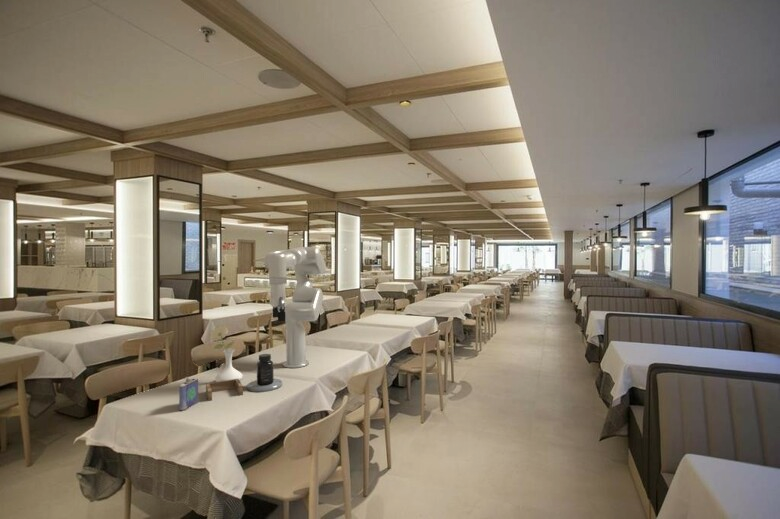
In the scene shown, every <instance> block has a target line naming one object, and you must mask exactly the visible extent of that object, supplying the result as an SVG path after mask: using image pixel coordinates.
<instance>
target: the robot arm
mask: <svg viewBox="0 0 780 519" xmlns="http://www.w3.org/2000/svg"><path fill="white" fill-rule="evenodd" d="M322 254H323V253H322V252H321V250H320V249H319V248H318V247H316V246H299V247H294V248H289V249H283V250H275V251H270V252H268V253H267V254H266V255H265V257H264V265H265V266H266V268H268V280H269V281H268V284H269V286H270V291H269V292H270V298H269V299H270V300H269V302H270V303H269V305H270V306H272V318H277V321H278V322H285V333H286V334H285V336H286V338H285V340H286V343H285V344H286V356H285V357H286V361H284V362H283V367H284V368H289V369H296V368H303V367H307V366H308V365H309V364H310V361H309V360H308V359H307V358H306V357H307V354H306V352H307V350H306V349H307V348H306V327H305V326H304V324H303V322H315V321H317V320H318V318H319V315H320V312H321V309H322V306H323V302H324V301H323V300H324V294H323V291H322V289H321V288H319V287H313V282H312V281H311V279H310V278H309V277H308V276H310V275H311V276H316V275H317V276H320V275H323V274H325V273H326V270H327V269H326V268H327V266H326V262H325V259H324V257H323V255H322ZM292 268H294V276H295V279H296V285H295V287H294V291H293V293H292V296H291V302H289V303H286V302H287V301H286V300H287V297H286V286H285V285H287V284H288V283H287V282H288V280H287V269H289V270H290V269H292Z"/></svg>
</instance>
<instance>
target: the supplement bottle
mask: <svg viewBox="0 0 780 519" xmlns="http://www.w3.org/2000/svg"><path fill="white" fill-rule="evenodd" d="M271 359H272V355H271V354H270V353H263V354H259V355H258V361H257V363H256V380H257V384H258V385H261V386H265V385H270V384H272V383H273V381H274V379H275V377H274V362H273V360H271Z"/></svg>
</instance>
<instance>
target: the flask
mask: <svg viewBox="0 0 780 519" xmlns="http://www.w3.org/2000/svg"><path fill="white" fill-rule="evenodd" d="M184 379H185V381H184V382H183V383H181V384H180V385H179V386H178V387H179V388H178V389H179V390H178V391H179V396H178V397H179V399H178V401H179V404H178V405H179V408H178V409H179V411H180V410H181V411H182V412H184V411H186V409H187V410H188V409H189V407H190V408H191V406H192V407H193V406H195V405H197V404H198V403H199V398H198V396H199V379H198V378H196V377H195V378H193V377H192V378H191V377H189V376H185V377H184ZM183 410H184V411H183ZM181 411H180V412H181Z"/></svg>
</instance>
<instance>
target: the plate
mask: <svg viewBox="0 0 780 519" xmlns="http://www.w3.org/2000/svg"><path fill="white" fill-rule="evenodd" d="M282 386H283V381H282V380H281V379H279V378H274V381H273V383H272V384H270V385H265V386H261V385H258V384H257V379H256V380H253V381H250V382H248V384H246V387H247V388H246V389H247V390H248V391H249V390H250V391H249V392H252V391H253V392H255V393H265V392H272V391H274V390H278V389H279V388H281V387H282Z"/></svg>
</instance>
